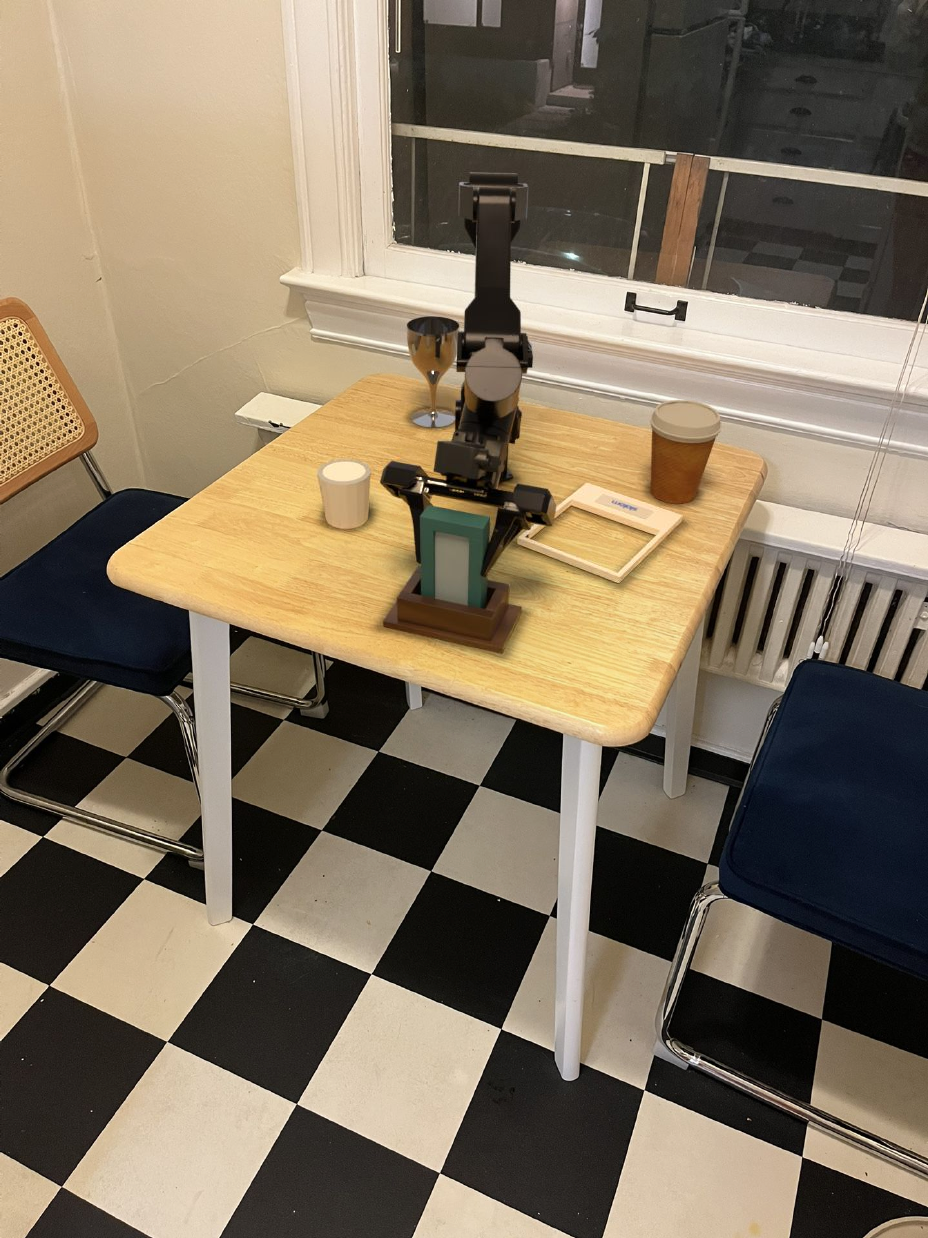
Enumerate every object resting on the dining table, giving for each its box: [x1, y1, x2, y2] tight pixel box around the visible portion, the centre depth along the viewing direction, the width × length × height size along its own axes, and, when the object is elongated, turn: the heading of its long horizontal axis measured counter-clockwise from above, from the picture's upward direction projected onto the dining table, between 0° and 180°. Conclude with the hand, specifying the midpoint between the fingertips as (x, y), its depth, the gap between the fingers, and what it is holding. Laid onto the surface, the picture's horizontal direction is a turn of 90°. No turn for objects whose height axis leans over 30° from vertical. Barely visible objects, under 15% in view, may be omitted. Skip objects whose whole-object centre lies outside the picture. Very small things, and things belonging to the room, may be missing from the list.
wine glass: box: [406, 315, 460, 429], centre depth 141 cm, size 8×8×15 cm
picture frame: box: [420, 505, 491, 609], centre depth 99 cm, size 2×7×12 cm, turn 72°
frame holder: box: [382, 565, 523, 654], centre depth 102 cm, size 8×14×4 cm, turn 72°
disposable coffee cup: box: [649, 399, 723, 504], centre depth 124 cm, size 10×10×12 cm
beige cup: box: [316, 458, 372, 530], centre depth 119 cm, size 7×7×7 cm
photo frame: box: [516, 482, 684, 584], centre depth 118 cm, size 15×1×18 cm
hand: (450, 569), depth 98 cm, fingers closed on picture frame, 7 cm apart
